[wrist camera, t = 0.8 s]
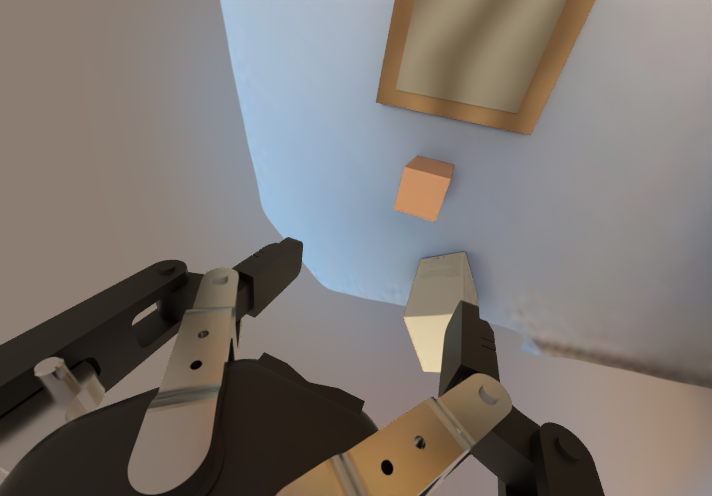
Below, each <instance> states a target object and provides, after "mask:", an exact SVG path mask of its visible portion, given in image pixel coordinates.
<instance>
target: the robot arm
mask: <svg viewBox="0 0 712 496" xmlns="http://www.w3.org/2000/svg"><path fill="white" fill-rule="evenodd" d="M302 252H303V243H302V242H301V241H298V240H295V239H293V238H290V237H287V238H285V239H284V240H283V241H281V242H280V243H273V244H270V245H267V246H265V247H263V248H262V249H260V250H259V252H256V253H255V254H253V256H252V255H251V256H250V257H248V258H247V259H246V260H244V261H242V262H241V263H239V264H238V265H236V266H235V267H233V268H232V269H230V268H216V269H213V270H210V271H209V272H207V273H205V274H198V273H191V272H188V270H187V266H186V264H185V263H184V262H182V261H179V260H165V261H161V262H158V263H155V264H153V265H151V266H149V267H148V268H146V269H144V270H142V271H140V272H138V273H136V274H134V275H132V276H130V277H129V278H127V279H125V280H123V281H121V282H119V283H117V284H116V285H113V286H112V287H110V288H108V289H106V290H104V291H102V292H100V293H98V294H97V295H94V296H93V297H91V298H89V299H87V300H85V301H83V302H81V303H80V304H78V305H76V306H74V307H72V308H70V309H68V310H66V311H64V312H62V313H60V314H59V315H57V316H55V317H53V318H51V319H49V320H47V321H45V322H44V323H42V324H40V325H38V326H36V327H34V328H32V329H30V330H28V331H26V332H25V333H23V334H21V335H19V336H17V337H15V338H13V339H11V340H10V341H8V342H6V343H4V344H2V345H0V471H1V472H3V473H5V474H6V475H8V476H7V477H6V479H5V480H4V481H3V482H2V484H1V485H0V496H429V495H430V494H431V493H432V492H433V491H434V490H435V489H436V488H437V487H438V486H439V485H440V484H441V483H442V482H443V481H444V480H445V479H446V478H447V477H448V476H449V475H450V474H451V473H452V472H454V471H455V469H457V468H458V467H459V466H460V465H461V464H462V463H463V462H464V461H465V460H466V459H467V458H468V457H469V456H471V455H473V456H474V457H475V458H476V459H478V460H479V461H480V462H481V463H482V464H483V465H484V466H486V467H487V468H488V469H489V470H490V471H491V472H493V473H494V474H495V475H496V476H497V477H498V496H605V495H604V492H603V489H602V485H601V482H600V479H599V476H598V473H597V470H596V467H595V463H594V461H593V458H592V456H591V454H590V452H589V451H588V450H587V448H586V447H585V446H584V444H583V443H582V442H581V441H580V440H579V438H577V437H576V436H575V435H574V434H573V433H572V432H571V431H569V430H568V429H566V428H564V427H563V426H561V425H558V424H555V423H549V422H548V423H545V424H543V425H542V426H541V427H540V426H539V425H538V424H536V423H535V422H534V421H532V420H531V419H529V418H528V417H527V416H525V415H524V414H522V413H521V412H520V411H518V410H517V409H516V408H515V407H514V406H513V405H512V401H511V398H510V396H509V394H508V392H507V390H506V389H505V388H504V387H503V386H502V385H501V384H500V379H499V371H498V363H497V355H496V352H495V351H496V347H495V344H494V343H495V339H494V332H493V330H492V329H491V327H490V325H489V323H488V322H487V321H484V320H482V319H480V317H479V307H478V306H477V305H474V304H471V303H468V302H466V301H463V300H460V301H459V303H458V305H457V307H456V309H455V311H454V313H453V315H452V317H451V319H450V321H449V323H448V325H447V328H446V331H445V335H444V343H443V353H442V364H441V374H440V385H439V394H438V398H437V399H435V398H434V397H430V398H428V399H426V400H425V401H423V402H422V403H420V404H419V405H417V406H416V407H414V408H412V409H411V410H409V411H408V412H406V413H405V414H403V415H402V416H400V417H399V418H397V419H396V420H394V421H393V422H391V423H390V424H388V425H387V426H385V427H383V428H382V429H380V430H378V428H377V426H376V425H375V424H374V422H373V421H372V420H371V419H370V417H369V416H368V415H367V414H366V413H364V412H363V411H362V408H363V405H364V402H365V401H363V400H361V399H359V398H357V397H355V396H353V395H351V394H349V393H347V392H345V391H343V390H341V389H339V388H334V387H329V386H324V385H319V384H314V383H310V382H308V381H306V380H305V379H304V378H303V377H302V376H301V375H300V374H298V373H297V372H296V371H295V370H294V369H293V368H292V367H291V366H290V365H288V364H287V363H285V362H283V361H281V360H279V359H277V358H275V357H273V356H271V355H269V354H267V353H263V355H262V356H261V357H260V359H258V360H256V359H240V360H239V349H240V338H241V327H242V317H243V316H244V315H245V314H248V315H250V316H252V317H256V316H257V315H258V314H259V313H260V312H261V311H262V310H263V309H264V308H265V307H266V306H268V304H270V303H271V302H272V301H273V300H274V299H275V298H276V297H277V296H278V295H279V294H280V293H281V292H282V291H283V290H284V289H285V288H286V287H287V286H288V285H289V284H290V283H291V282H292V281H293V280H294V279H295V278H296V277H297V276H298V274H299V272H300V270H301V263H302ZM154 303H156V305H157V309H156V310H155V311H153V312H152V313H150V314H149V315H147V316H146V317H144V318H143V319H142V320H140V321H139V322H137V323H136V324H134V325H133V326H132V321H133V320H134V318H135V317H136V316H137V315H138V314H139V313H140V312H142V311H143V310H145V309H146V308H148V307H150V306H151V305H152V304H154ZM177 333H178V335H177V337H176V341H175V344H174V347H173V350H172V352H171V355H170V358H169V361H168V364H167V367H166V371H165V373H164V376H163V379H162V383H161V385H160V387H158V388H155V389H152V390H150V391H147V392H144V393H141V394H139V395H136V396H133V397H131V398H128V399H125V400H122V401H120V402H117V403H114V404H111V405H109V406H106V407H103V408H100V409H98V410H96V408H97V407H98V405H99V404H100V403H101V401H102V400H103V397H104V394H105V393H106V392H107V391H108V390H109V389H111V388H112V387H113V386H114V385H116V384H117V383H118V382H119V381H120V380H122V379H123V378H124V377H125V376H126V375H127V374H129V373H130V372H131V371H132V370H134V369H135V368H136V367H137V366H138V365H139V364H141V363H142V362H143V361H144V360H145V359H147V358H148V357H149V356H150V355H152V354H153V353H154V352H155V351H156V350H158V349H159V348H160V347H161V346H162V345H163V344H165V343H166V342H167V341H168V340H170V339H171V338H172V337H173V336H175V335H176V334H177Z"/></svg>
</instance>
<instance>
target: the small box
mask: <svg viewBox="0 0 712 496" xmlns="http://www.w3.org/2000/svg"><path fill="white" fill-rule="evenodd" d="M460 300H463V301H466V302H468V303H471V304H474V305H477V306H478V298H477V294H476V290H475V286H474V282H473V278H472V274H471V270H470V267H469V263H468V259H467V256H466V253H465V252H460V253H454V254H448V255H442V256H437V257H431V258H425V259H421V260H420V263H419V266H418V269H417V273H416V276H415V279H414V283H413V286H412V289H411V293H410V296H409V299H408V303H407V306H406V310H405V313H404V316H403V319H404V322H405V324H406V327H407V329H408V332H409V335H410V337H411V340H412V343H413V345H414V348H415V351H416V353H417V356H418V359H419V361H420V364H421V366H422V369H423V371H425V372H441V364H442V353H443V343H444V335H445V331H446V328H447V325H448V323H449V321H450V319H451V317H452V315H453V313H454V311H455V309H456V307H457V305H458V303H459V301H460Z"/></svg>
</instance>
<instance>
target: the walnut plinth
mask: <svg viewBox="0 0 712 496" xmlns="http://www.w3.org/2000/svg"><path fill="white" fill-rule="evenodd" d="M594 2H595V0H395V2H394V8H393V13H392V18H391V24H390V29H389V34H388V40H387V45H386V50H385V56H384V61H383V67H382V72H381V77H380V83H379V88H378V93H377V99H376V102H377V103H381V104H386V105H391V106H396V107H400V108H405V109H410V110H415V111H419V112H424V113H429V114H434V115H438V116H443V117H448V118H452V119H457V120H462V121H467V122H471V123H476V124H481V125H486V126H490V127H495V128H500V129H505V130H509V131H514V132H519V133H523V134H528V135H531V133H532V131H533V129H534V126H535V124H536V122H537V120H538V118H539V116H540V114H541V112H542V110H543V108H544V106H545V104H546V102H547V99H548V97H549V95H550V93H551V91H552V89H553V87H554V85H555V83H556V81H557V79H558V77H559V75H560V72H561V70H562V68H563V66H564V64H565V62H566V60H567V58H568V56H569V54H570V52H571V50H572V48H573V45H574V43H575V41H576V39H577V37H578V35H579V33H580V31H581V29H582V27H583V25H584V23H585V21H586V19H587V16H588V14H589V12H590V10H591V8H592V6H593V4H594Z"/></svg>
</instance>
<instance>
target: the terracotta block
mask: <svg viewBox="0 0 712 496" xmlns="http://www.w3.org/2000/svg"><path fill="white" fill-rule="evenodd" d="M453 168H454V165H452V164H448V163H444V162H440V161H436V160H432V159H428V158H424V157H420V156H417V157H415V158H414V159H413V160H412V161H411V162H410V163H409V164H408V165H406V166H405V168H404V172H403V176H402V179H401V183H400V187H399V190H398V194H397V198H396V202H395V205H394V210H397V211H401V212H404V213H407V214H411V215H414V216H417V217H421V218H424V219H427V220H430V221H434V222H435V221H436V219H437V216H438V213H439V210H440V208H441V205H442V202H443V199H444V197H445V194H446V191H447V188H448V186H449V183H450V180H451V177H452V172H453Z"/></svg>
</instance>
